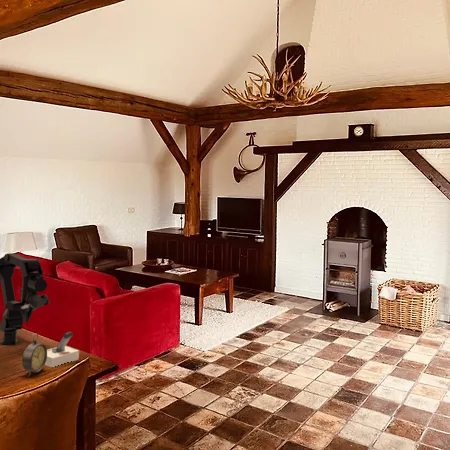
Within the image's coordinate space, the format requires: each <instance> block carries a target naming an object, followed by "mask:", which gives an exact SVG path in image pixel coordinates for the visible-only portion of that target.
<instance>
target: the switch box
mask: <svg viewBox="0 0 450 450" xmlns="http://www.w3.org/2000/svg"><path fill="white" fill-rule="evenodd" d="M57 347H58V346H56V347H53V348H52V347H51V348H48V349H47V359H46V362H45V365H44V366H46V367H49V368H51V367H53V368H55V366H56V367H59V366H62V365H61V364H63V365H65V364H64V363H66V364H68V363H67V362H69V363H72V362H76V361H78V360H79V359H80V358H79V356H80V349H79V350H78V349H76V348H73V347H70V346H67V345H66V346H65V348H64V349H63V351H61V352H56V351H57V349H56V348H57ZM71 361H72V362H71ZM58 365H59V366H58Z"/></svg>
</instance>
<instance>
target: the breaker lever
mask: <svg viewBox="0 0 450 450" xmlns="http://www.w3.org/2000/svg"><path fill="white" fill-rule="evenodd" d="M62 336H63V337H62V338H61V340H60V342H59V343H58V345H57V346H56V347H57V348H56V349H57V351H56V352H61V351H63V349H64V348H65V346H67V344H68V342H69V341H70V339H71V338H72V337H73V336H74V333H73V332H72V331H68V332H64V333H63V335H62Z"/></svg>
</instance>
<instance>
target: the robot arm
mask: <svg viewBox="0 0 450 450" xmlns="http://www.w3.org/2000/svg"><path fill="white" fill-rule="evenodd" d="M16 267H18V268H19V270H20V272H22V273H21V275H20V276H21V277H22V283H21V289H19V292H20V293H21V298H18V301H16V295H15V290H14V284H13V276H14V273H15V268H16ZM0 285H1V293H2V298H3V305H4V309H5V311H3V315H2V320H1V321H0V331H1V332H3V333H2V335H3V336H2V340H1V342H0V345H11V346H12V345H13V346H14V345H16V344H17V343H18V342H19V339H17V336H18V335H17V333H18V330H22V329H23V326H24V323H26V324H27V323H29V321H30V319H31V317H32V314H33V313H34V311H35V310H36V309H38V308H41V307H43V306H48V305H50V299H49V298H48V295H47V294H39V293H42V292H45V291H46V290H47V288H48V282H47V280H46V279H45V277H44V270H43V267H42V265H41V262H40V260H39V259H34V258H27V257H23V256H21V255H19V254H18V253H15V252H13V253H12V252H10V253H9V252H8V253H5V254H4V255H3V256H2V257H0Z"/></svg>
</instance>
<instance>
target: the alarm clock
mask: <svg viewBox="0 0 450 450" xmlns="http://www.w3.org/2000/svg"><path fill="white" fill-rule="evenodd" d="M35 336H36V339H35ZM38 337H39V334H38V332H36V333H34V335H33V337H32V340H33V343H30V344H29V345H27V347H26V348H25V349H24V351H23V354H22V360H21V362H22V363H21V365H22V367H23V369H24V370H25V371H26V372H29V374H28V376H27V378H30V377H31V375H32V373H39V372H41V371H43V368H44V367H45V366H46V365H45V362H46V359H47V350H48V349H47V346H46V345H45V344H43V343H39V342H37V341H38Z"/></svg>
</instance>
